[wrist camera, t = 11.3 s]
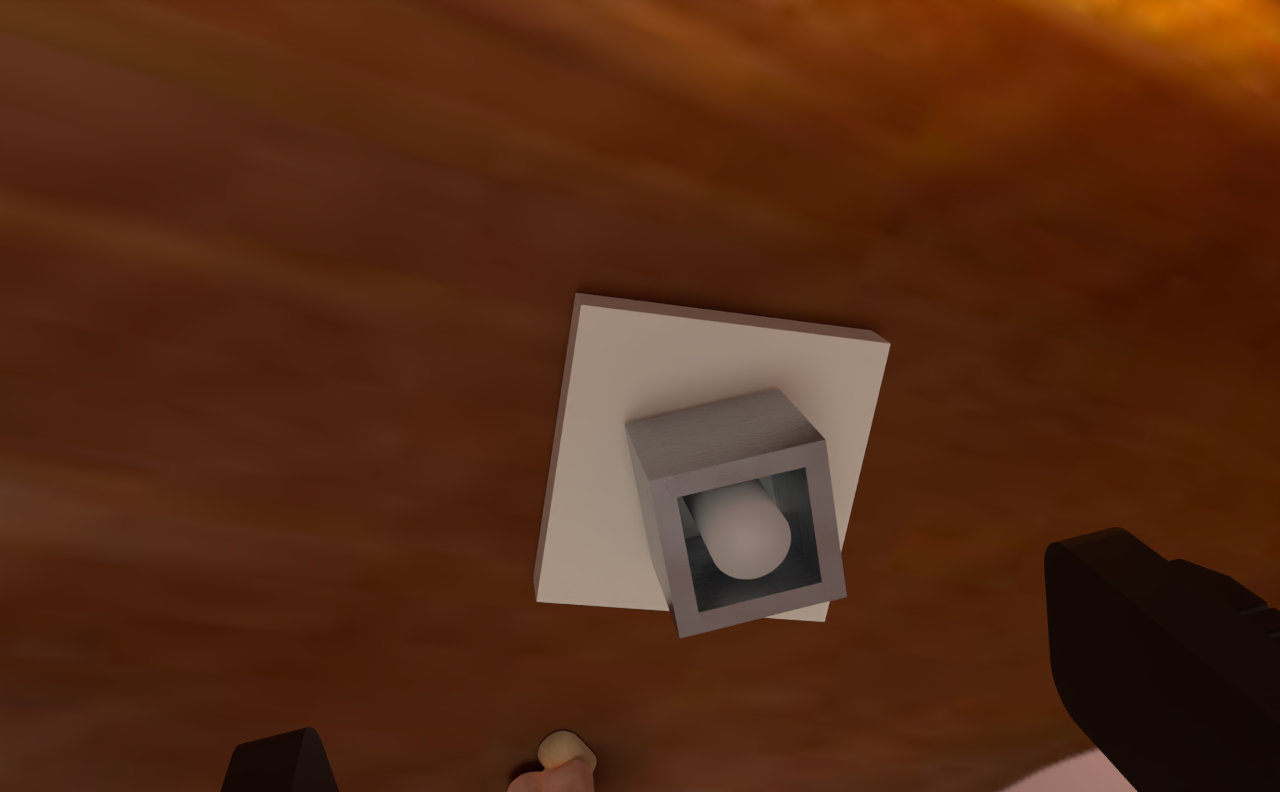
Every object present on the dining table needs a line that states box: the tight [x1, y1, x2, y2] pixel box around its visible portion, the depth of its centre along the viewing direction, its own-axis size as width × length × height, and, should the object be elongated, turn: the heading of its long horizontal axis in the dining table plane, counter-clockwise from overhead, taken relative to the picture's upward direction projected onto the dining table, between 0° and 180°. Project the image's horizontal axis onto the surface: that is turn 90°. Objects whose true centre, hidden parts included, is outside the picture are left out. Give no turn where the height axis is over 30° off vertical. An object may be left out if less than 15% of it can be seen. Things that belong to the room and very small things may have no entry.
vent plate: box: [533, 293, 890, 622], centre depth 40 cm, size 12×12×8 cm
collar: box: [624, 389, 847, 638], centre depth 39 cm, size 6×6×6 cm
